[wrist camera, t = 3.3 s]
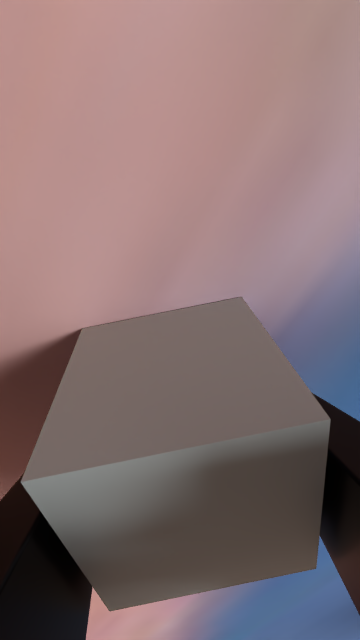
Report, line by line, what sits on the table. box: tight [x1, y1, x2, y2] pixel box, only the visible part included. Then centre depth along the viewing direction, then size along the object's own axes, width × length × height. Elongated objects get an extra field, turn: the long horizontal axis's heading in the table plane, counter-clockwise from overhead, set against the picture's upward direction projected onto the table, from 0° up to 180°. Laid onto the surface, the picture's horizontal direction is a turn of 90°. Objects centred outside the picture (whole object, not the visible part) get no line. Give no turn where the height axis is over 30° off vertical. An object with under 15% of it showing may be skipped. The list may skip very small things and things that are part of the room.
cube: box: [21, 297, 331, 611], centre depth 7 cm, size 4×4×4 cm
